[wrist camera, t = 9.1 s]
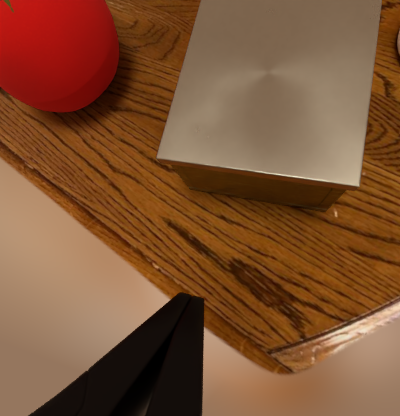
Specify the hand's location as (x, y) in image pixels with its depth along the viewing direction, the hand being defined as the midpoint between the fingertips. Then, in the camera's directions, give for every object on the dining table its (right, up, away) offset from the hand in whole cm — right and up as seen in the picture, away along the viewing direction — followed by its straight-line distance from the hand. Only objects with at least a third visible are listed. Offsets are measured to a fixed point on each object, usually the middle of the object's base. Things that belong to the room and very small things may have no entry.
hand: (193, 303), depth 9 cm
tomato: (-13, +18, +22) cm, 31 cm away
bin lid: (+5, +11, +9) cm, 15 cm away
